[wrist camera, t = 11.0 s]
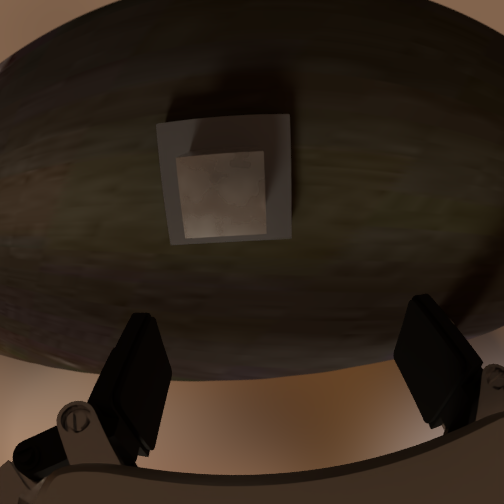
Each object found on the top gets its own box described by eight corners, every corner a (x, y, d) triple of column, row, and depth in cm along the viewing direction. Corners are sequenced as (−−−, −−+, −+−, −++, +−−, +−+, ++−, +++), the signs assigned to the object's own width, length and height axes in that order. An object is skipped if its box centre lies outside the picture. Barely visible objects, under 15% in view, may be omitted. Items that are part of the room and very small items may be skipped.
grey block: (287, 228, 33) (297, 254, 27) (176, 234, 33) (161, 261, 27) (285, 115, 28) (297, 112, 21) (164, 124, 28) (142, 124, 21)
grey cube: (262, 212, 29) (266, 233, 24) (196, 216, 29) (185, 238, 24) (259, 146, 26) (263, 151, 21) (189, 151, 26) (175, 157, 21)
